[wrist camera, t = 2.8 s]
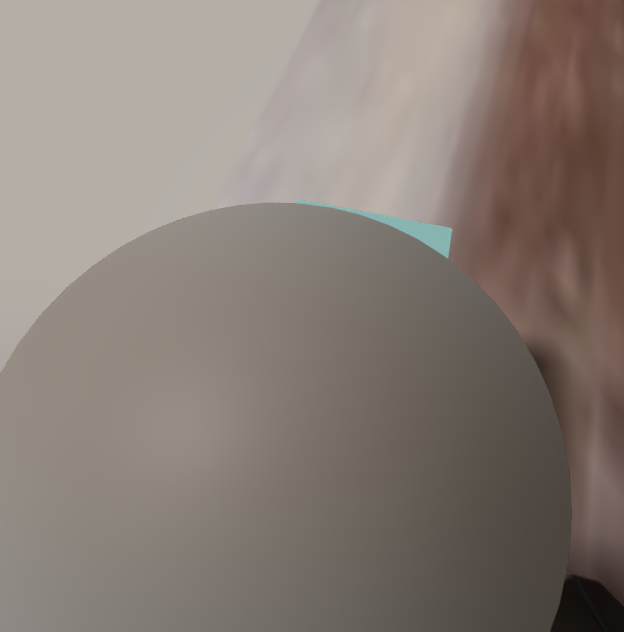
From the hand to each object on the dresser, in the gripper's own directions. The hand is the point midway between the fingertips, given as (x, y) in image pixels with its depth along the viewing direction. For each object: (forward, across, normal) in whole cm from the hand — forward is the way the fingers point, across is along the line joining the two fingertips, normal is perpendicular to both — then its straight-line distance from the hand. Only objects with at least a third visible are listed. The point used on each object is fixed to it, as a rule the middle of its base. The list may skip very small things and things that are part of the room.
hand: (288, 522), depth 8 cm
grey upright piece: (+6, 0, +6) cm, 8 cm away
